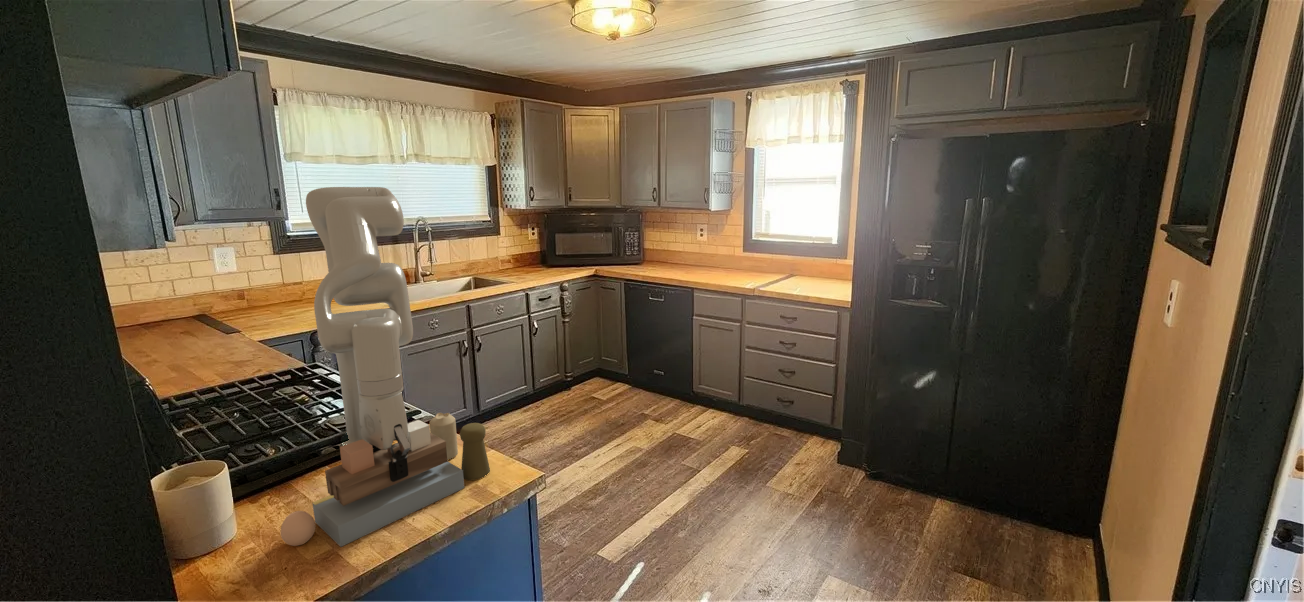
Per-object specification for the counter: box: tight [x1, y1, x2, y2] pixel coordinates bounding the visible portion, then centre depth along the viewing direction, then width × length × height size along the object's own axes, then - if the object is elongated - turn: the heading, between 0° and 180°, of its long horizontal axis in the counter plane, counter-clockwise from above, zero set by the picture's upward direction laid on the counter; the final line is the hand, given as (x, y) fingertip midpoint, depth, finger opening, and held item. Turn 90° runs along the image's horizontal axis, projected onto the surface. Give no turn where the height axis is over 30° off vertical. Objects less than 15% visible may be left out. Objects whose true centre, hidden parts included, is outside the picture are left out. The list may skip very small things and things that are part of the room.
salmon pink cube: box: [339, 439, 375, 474], centre depth 101 cm, size 4×4×4 cm
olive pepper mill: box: [459, 422, 491, 481], centre depth 118 cm, size 6×6×11 cm
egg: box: [280, 510, 316, 547], centre depth 95 cm, size 5×5×6 cm
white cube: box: [407, 419, 431, 451], centre depth 109 cm, size 4×4×4 cm
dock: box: [312, 461, 465, 548], centre depth 107 cm, size 11×24×4 cm, turn 141°
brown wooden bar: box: [324, 433, 449, 506], centre depth 106 cm, size 6×20×4 cm, turn 141°
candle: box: [428, 412, 459, 461], centre depth 125 cm, size 6×6×10 cm
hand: (390, 471), depth 106 cm, fingers closed on brown wooden bar, 6 cm apart
